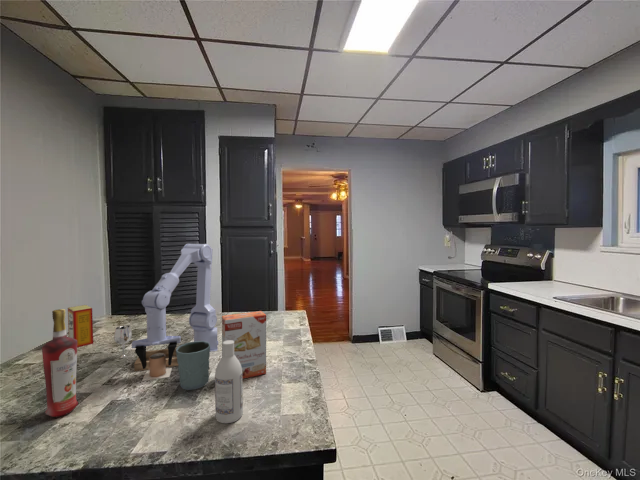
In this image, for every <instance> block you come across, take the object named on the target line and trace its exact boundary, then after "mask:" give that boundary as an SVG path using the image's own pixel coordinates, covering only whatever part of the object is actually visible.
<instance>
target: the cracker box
mask: <svg viewBox="0 0 640 480" xmlns="http://www.w3.org/2000/svg"><path fill="white" fill-rule="evenodd" d="M227 340H232V341H234V355H235V356H236V358H237V359H238V360H239V362H240V364H241V367H242V380H244V379H248V378H252V377H257V376H261V375H262V376H263V375H266V374H267V314H265V313H264V312H263V311H262V310H259V311H251V312H250V311H249V312H242V313H241V312H240V313H235V314H234V313H233V314H226V315H222V316H221V358H222V357H223V342H224V341H227Z"/></svg>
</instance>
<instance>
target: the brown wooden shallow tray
mask: <svg viewBox="0 0 640 480" xmlns="http://www.w3.org/2000/svg"><path fill="white" fill-rule="evenodd" d="M176 349H177V347H176V348H175V350H174V353H173V356H172V362H171V365H169V366H168V359H169V354H168V348H163V349H155V350H154V349H153V350H146V362H147V364H146V368H145V369H143V367H142V363H141V361H140V359H139V357H138V356H137V358H136V360H135V362H134V363H133V365H134V367H133V368H134V370H133V371H134V373H135V372H140V371H142V372H143V371H149V357H150V356H151V355H153V354H157V353H164V354H165V355H166V368H173V367H178V366H179V365H178V362H177V355H176Z"/></svg>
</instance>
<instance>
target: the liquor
mask: <svg viewBox="0 0 640 480" xmlns="http://www.w3.org/2000/svg"><path fill="white" fill-rule="evenodd" d="M65 319H66V309H65V308H60V309H55V310H52V321H53V327H52V329H53V330H52V339H51V340H49V341H47V342H46V343H45V344H43V345H42V346H41V352H42V353H41V355H42V365H43V373H44V374H43V376H44V381H45V382H44V383H45V391H46V410H45V411H44V413H45V415H47V416H49V417H52V418H60V417H64V416H66V415H68V414H70V413H71V412H72V411H73V410H74V409H75V408H76V407H78V405H79V402H78V400H77V365H78V347H77V340H76V339H74V338H71V337H69V336H68V334H67V328H66V322H65Z"/></svg>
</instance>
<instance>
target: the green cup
mask: <svg viewBox="0 0 640 480" xmlns="http://www.w3.org/2000/svg"><path fill="white" fill-rule="evenodd" d="M176 348H177V349H176V355H177V362H178V365H179V366H177V367H178V368H177V369H178V375H179V386H180V387H181V388H182V389H183V390H186V391H187V390H189V391H190V390H196V389H200V388H202V387H204V386H206V385H207V384H208V383H209V380H210V371H209V369H210V356H211V355H210V354H211V352H210V343H208V342H205V341H194V340H193V341H189V342H185V343H183V344H181V345H179V346H176Z"/></svg>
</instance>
